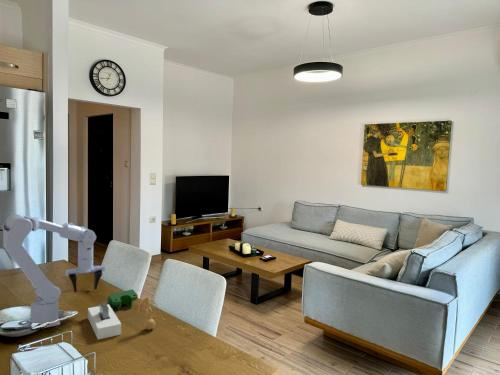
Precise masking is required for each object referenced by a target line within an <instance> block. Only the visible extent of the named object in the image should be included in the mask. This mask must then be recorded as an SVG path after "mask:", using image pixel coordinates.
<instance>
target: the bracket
mask: <svg viewBox="0 0 500 375" xmlns="http://www.w3.org/2000/svg"><path fill="white" fill-rule="evenodd" d="M99 306H100V318H101V320H106V319H108V314H109V308H108V306H107V303H106V302H105V301H104V302H99Z"/></svg>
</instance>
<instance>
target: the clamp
mask: <svg viewBox="0 0 500 375" xmlns="http://www.w3.org/2000/svg"><path fill="white" fill-rule="evenodd" d="M138 297H139V295H138V294H137V292H136V291H135V290H134V289H128V290H124V291H120V292H115V293H111V294H108V295H107V303H106V304H107V305H108V304H109V305H110V307H111V308H112V309H114V308H117V309H118V310H119V311H121V307H122V306H125V305H127V306H129V307H130V308H131V307H132V306H133V302H134V301H137V300H138Z"/></svg>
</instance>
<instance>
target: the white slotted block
mask: <svg viewBox="0 0 500 375" xmlns="http://www.w3.org/2000/svg"><path fill="white" fill-rule="evenodd" d="M107 306H108V308H109V314H108V319H106V320H101V318H100V305H99V306H92V307H88V308H87V319H88V321H89V324H90V325H91V327H92V328H91V329H92V330H93V332H94V333H95V336H96V339H97V340H98V341H99V340H102V339H107V338H112V337H115V336H116V337H117V336H120V335H122V323H121V321H120V319H119V318H118V316H117V314H116V313H115V311H114V310H113V308H111V307H110V305H109V304H108V305H107Z"/></svg>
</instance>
